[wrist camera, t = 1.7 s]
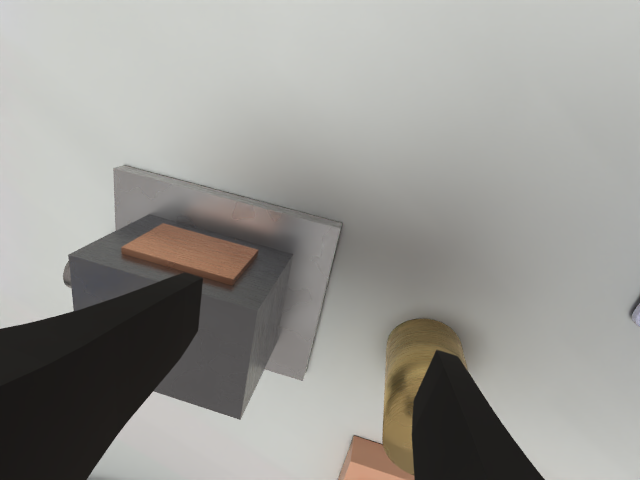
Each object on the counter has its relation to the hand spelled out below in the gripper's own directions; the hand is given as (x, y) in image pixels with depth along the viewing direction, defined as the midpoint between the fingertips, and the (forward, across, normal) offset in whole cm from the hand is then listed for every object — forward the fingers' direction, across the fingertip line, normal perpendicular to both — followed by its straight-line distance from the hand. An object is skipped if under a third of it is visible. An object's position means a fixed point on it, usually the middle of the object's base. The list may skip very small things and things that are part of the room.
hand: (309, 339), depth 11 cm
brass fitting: (+8, -6, +5) cm, 11 cm away
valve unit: (+8, +6, +4) cm, 11 cm away
